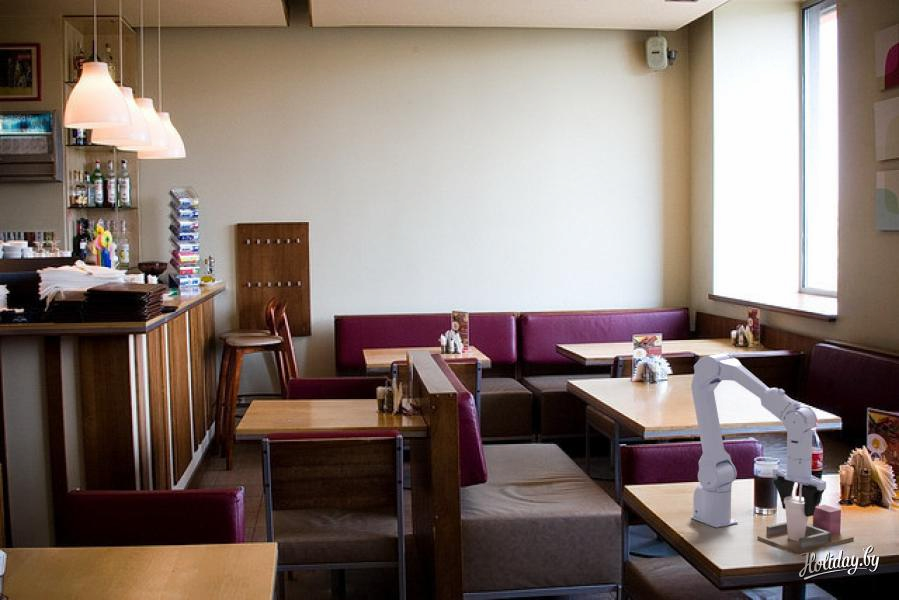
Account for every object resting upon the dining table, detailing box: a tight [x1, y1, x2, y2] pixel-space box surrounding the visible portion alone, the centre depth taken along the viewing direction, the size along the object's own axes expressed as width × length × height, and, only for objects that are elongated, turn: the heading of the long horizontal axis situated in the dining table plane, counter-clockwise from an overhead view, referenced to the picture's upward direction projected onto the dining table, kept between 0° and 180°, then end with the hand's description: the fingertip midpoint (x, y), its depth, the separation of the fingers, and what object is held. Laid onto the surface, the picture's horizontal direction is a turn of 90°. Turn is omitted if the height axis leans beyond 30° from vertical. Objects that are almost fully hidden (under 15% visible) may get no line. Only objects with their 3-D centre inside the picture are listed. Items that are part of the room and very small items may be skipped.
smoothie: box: [784, 483, 809, 541], centre depth 225 cm, size 6×6×14 cm
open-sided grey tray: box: [757, 504, 855, 555], centre depth 227 cm, size 12×20×7 cm, turn 118°
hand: (797, 511), depth 225 cm, fingers closed on smoothie, 6 cm apart
